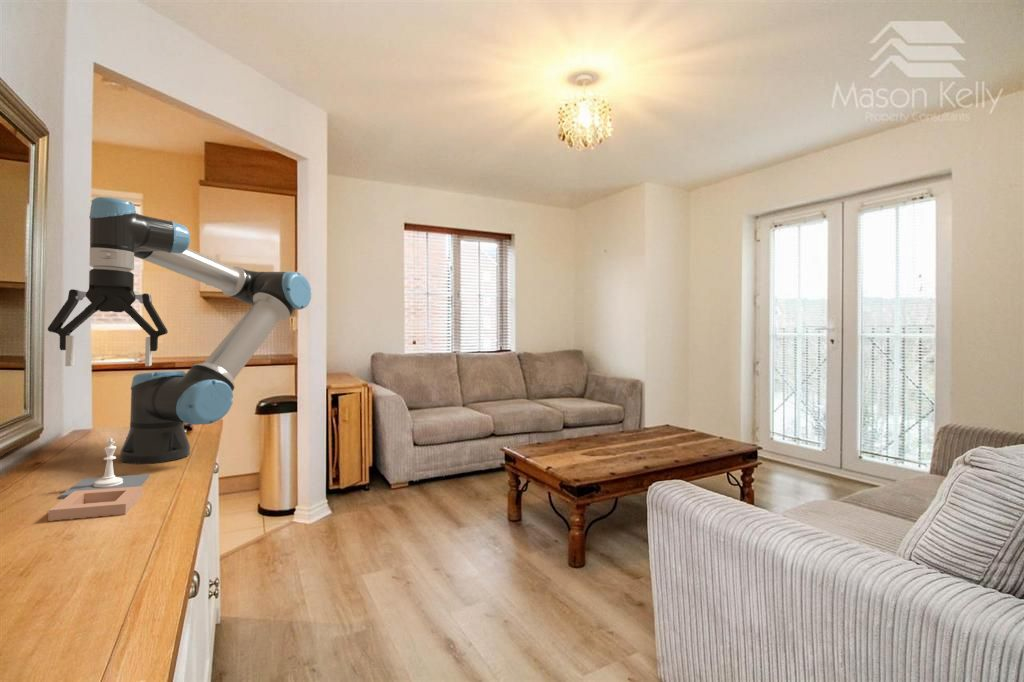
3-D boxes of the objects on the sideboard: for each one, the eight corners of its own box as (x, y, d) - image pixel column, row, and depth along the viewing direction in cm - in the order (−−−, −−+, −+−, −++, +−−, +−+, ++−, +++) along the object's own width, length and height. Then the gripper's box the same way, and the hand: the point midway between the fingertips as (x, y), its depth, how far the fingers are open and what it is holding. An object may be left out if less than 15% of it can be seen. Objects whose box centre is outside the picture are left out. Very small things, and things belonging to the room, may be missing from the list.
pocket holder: (74, 501, 94) (74, 491, 94) (142, 495, 99) (142, 486, 99) (48, 521, 84) (48, 510, 84) (125, 514, 89) (125, 503, 89)
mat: (83, 481, 106) (83, 478, 106) (149, 476, 111) (149, 474, 111) (59, 498, 95) (60, 495, 95) (134, 492, 100) (134, 490, 100)
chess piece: (106, 488, 100) (108, 441, 100) (87, 485, 101) (89, 439, 101) (128, 481, 105) (131, 437, 105) (110, 479, 106) (113, 435, 106)
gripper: (27, 262, 95) (26, 367, 96) (177, 273, 107) (175, 367, 107) (43, 266, 102) (41, 364, 102) (182, 276, 114) (180, 364, 114)
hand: (110, 365), depth 105 cm, fingers open, 13 cm apart
